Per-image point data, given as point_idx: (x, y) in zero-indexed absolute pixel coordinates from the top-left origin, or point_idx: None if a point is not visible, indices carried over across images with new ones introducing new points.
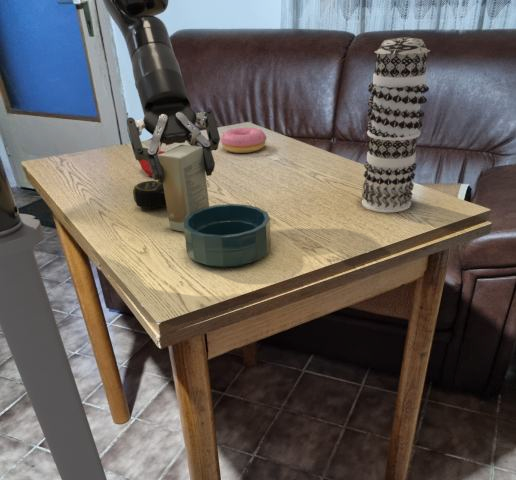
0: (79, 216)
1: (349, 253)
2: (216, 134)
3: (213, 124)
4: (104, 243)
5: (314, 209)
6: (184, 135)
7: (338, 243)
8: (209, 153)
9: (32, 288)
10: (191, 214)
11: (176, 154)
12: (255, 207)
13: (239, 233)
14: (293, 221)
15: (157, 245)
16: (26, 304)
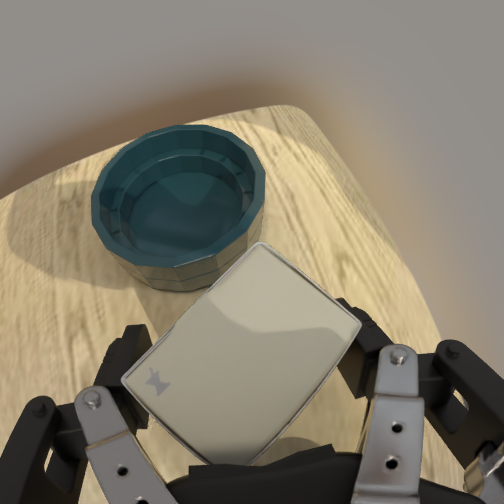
0: None
1: (48, 180)
2: (26, 422)
3: (8, 470)
4: (416, 318)
5: (3, 347)
6: (198, 466)
7: (39, 208)
8: (105, 379)
9: (464, 405)
10: (242, 226)
11: (271, 292)
12: (96, 224)
13: (173, 129)
14: (43, 310)
15: (319, 283)
16: (461, 395)
